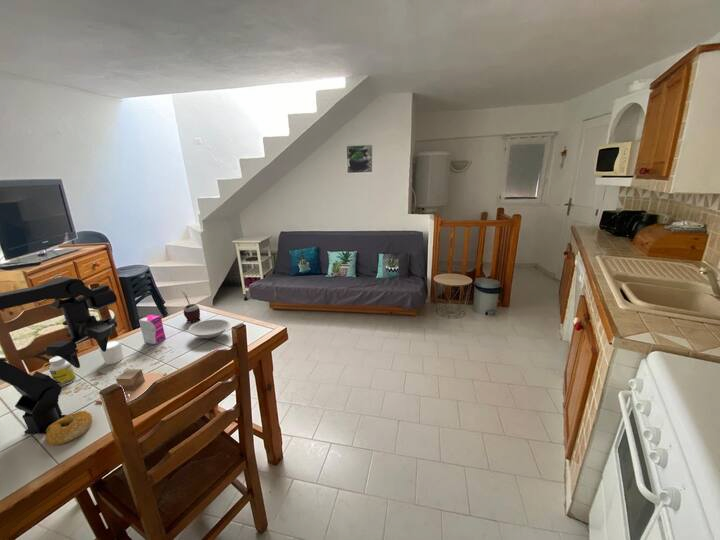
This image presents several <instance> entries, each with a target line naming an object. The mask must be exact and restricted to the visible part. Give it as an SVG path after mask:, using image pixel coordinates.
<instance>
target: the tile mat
mask: <svg viewBox="0 0 720 540" xmlns="http://www.w3.org/2000/svg"><path fill="white" fill-rule="evenodd" d="M142 373H143V376H144V380H145V382H144V383H143V384H142V385H140V386H139V387H138V388H137V389H136V390H135V391H124V392H125V395H126V398H127V402H129V401H130V400H132V399H134V398H136V397H137V396H139V395H140V394H142V393H143V392H144V391H145V390H146V389H147V388H148V387H150V385H151V384H152V383H153V382H154V381H156V380H158V379H159V378H161V377H163V376H165V375H166V376H167V373H166V372H142ZM166 376H165V377H166ZM128 394H130V397H129V396H128ZM95 403H96V404H98V403H99V404H100V403H101V404H102V402H101V399H100V396H99V397H98V398H97V399H95Z"/></svg>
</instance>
